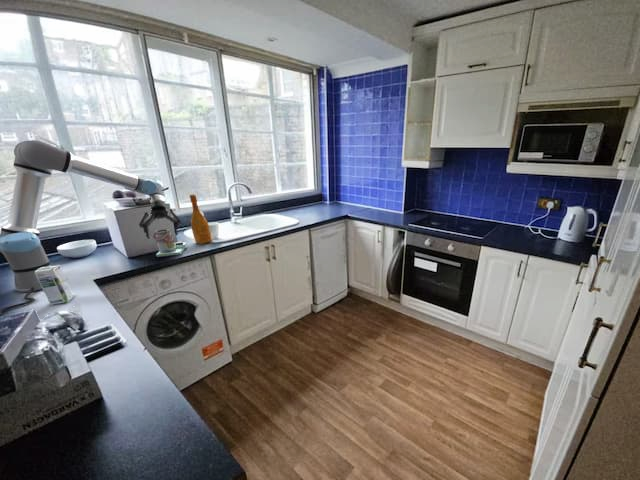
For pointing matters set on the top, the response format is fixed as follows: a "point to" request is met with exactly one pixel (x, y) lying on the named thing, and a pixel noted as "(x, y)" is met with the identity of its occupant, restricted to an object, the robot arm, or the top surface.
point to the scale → (177, 251)
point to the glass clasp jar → (164, 240)
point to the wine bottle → (199, 224)
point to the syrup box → (54, 284)
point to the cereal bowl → (77, 248)
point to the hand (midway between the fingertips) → (162, 235)
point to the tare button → (178, 243)
